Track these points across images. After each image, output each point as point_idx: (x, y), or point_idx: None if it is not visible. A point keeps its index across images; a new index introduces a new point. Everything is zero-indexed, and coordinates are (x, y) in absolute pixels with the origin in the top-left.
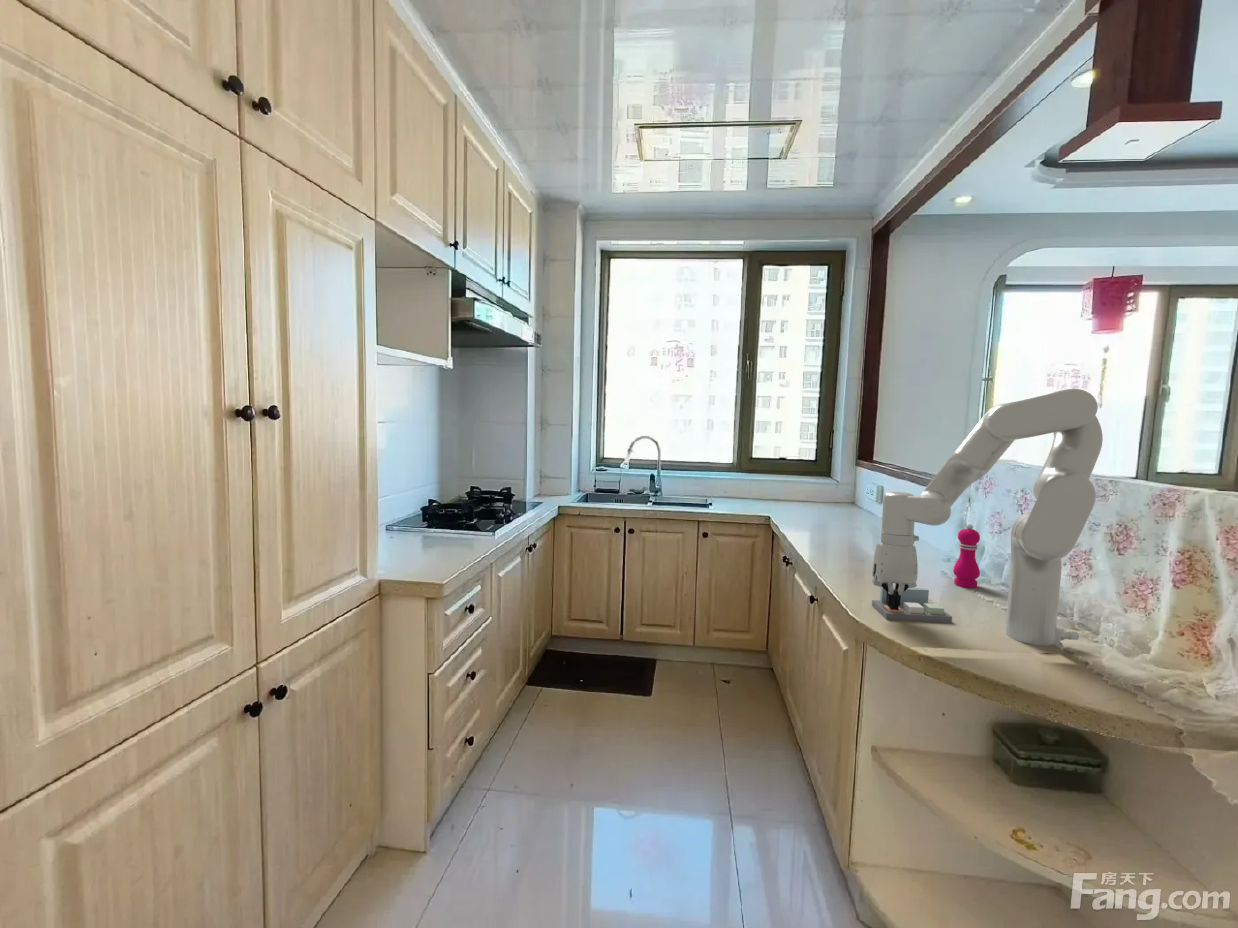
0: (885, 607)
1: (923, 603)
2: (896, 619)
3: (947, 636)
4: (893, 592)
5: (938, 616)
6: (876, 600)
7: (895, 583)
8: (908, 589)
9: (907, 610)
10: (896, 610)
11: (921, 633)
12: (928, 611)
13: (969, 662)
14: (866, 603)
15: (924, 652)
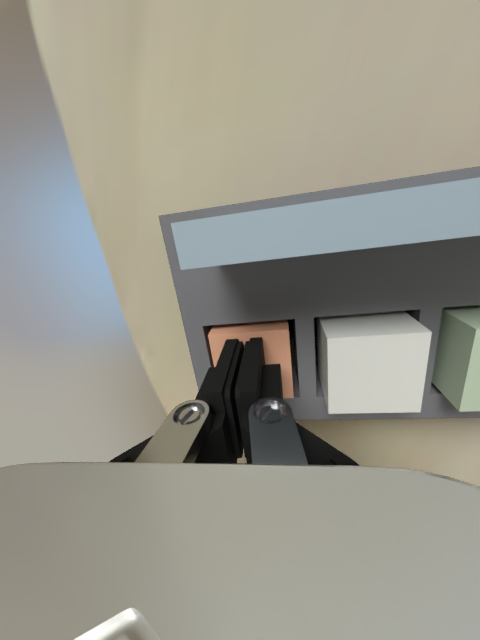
0: (213, 357)
1: (474, 330)
2: None
3: (415, 453)
4: (228, 461)
5: (466, 415)
6: (186, 214)
7: (252, 463)
8: (460, 236)
9: (323, 376)
10: None
11: (326, 440)
12: (443, 383)
13: None
14: (168, 58)
15: None
